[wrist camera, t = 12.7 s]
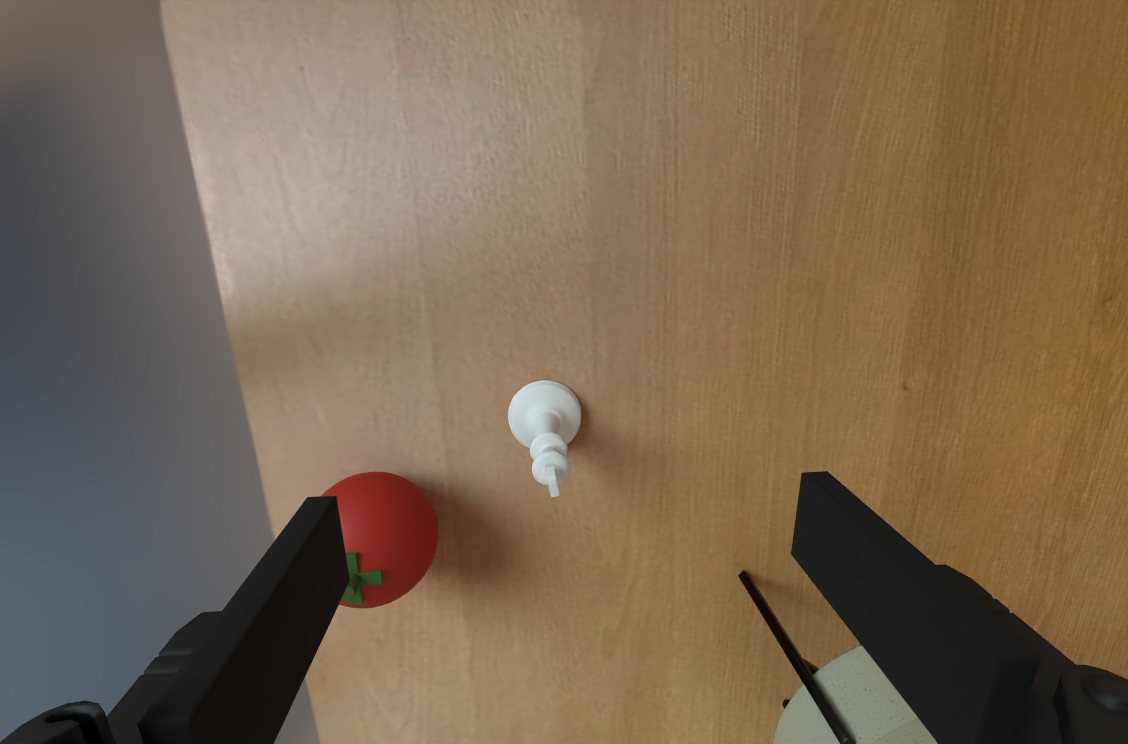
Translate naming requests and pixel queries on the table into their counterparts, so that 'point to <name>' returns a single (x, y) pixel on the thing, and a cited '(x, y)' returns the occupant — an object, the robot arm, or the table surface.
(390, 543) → the tomato
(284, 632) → the robot arm
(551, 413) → the chess piece
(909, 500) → the table surface
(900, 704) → the planter
